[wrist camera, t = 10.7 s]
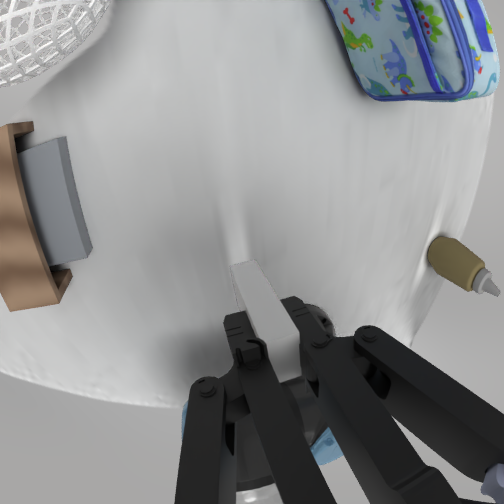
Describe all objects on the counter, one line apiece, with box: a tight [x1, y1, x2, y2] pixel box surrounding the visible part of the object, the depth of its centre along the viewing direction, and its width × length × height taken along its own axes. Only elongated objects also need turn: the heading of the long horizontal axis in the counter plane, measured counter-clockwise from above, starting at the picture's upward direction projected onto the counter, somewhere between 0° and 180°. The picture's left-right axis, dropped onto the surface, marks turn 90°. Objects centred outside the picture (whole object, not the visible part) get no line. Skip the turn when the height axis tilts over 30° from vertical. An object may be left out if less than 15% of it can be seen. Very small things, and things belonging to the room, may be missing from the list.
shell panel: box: [17, 137, 93, 267], centre depth 28 cm, size 15×12×4 cm
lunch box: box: [325, 0, 500, 102], centre depth 19 cm, size 26×11×21 cm, turn 20°
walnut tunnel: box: [0, 121, 73, 312], centre depth 26 cm, size 22×9×7 cm, turn 5°
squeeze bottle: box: [428, 237, 500, 297], centre depth 43 cm, size 8×8×18 cm
